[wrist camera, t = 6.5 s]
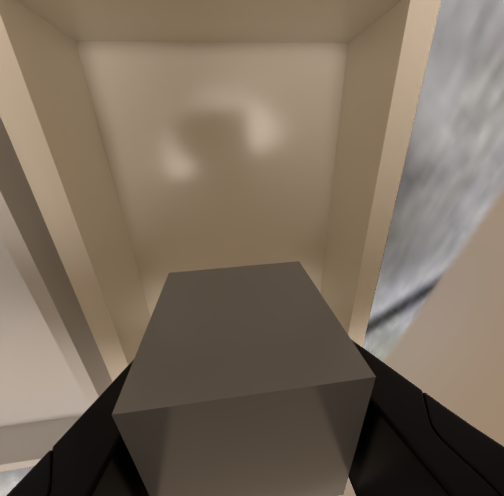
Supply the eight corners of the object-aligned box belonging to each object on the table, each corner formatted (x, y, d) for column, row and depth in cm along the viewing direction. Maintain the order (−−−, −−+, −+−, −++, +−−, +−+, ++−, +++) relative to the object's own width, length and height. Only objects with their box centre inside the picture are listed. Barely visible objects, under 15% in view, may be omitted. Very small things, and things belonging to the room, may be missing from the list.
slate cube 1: (188, 365, 9) (165, 528, 5) (168, 272, 7) (111, 414, 3) (293, 352, 9) (343, 494, 5) (298, 261, 7) (375, 376, 4)
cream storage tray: (146, 333, 13) (120, 399, 10) (54, 19, 8) (-85, -85, 4) (324, 313, 14) (357, 367, 11) (361, 23, 9) (454, -56, 5)
